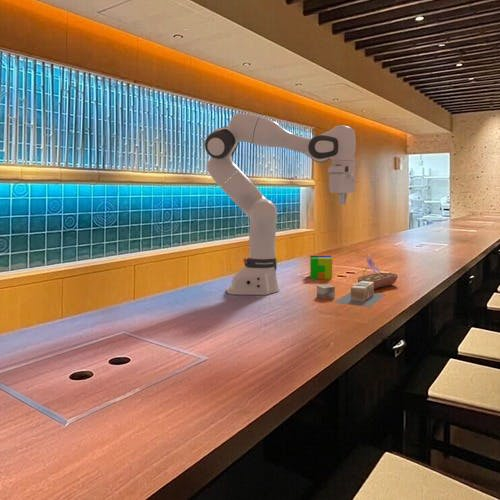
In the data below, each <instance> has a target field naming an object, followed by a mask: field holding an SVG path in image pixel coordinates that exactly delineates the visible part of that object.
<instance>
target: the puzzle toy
mask: <svg viewBox="0 0 500 500" xmlns="http://www.w3.org/2000/svg"><path fill="white" fill-rule="evenodd" d="M309 264H310V268H309V270H310V272H309V273H310V275H309V276H310V280H333V257H332V255H310V263H309Z"/></svg>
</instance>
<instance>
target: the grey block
mask: <svg viewBox="0 0 500 500" xmlns="http://www.w3.org/2000/svg"><path fill="white" fill-rule="evenodd" d="M335 287H336V286H334V285H330V284H321V285H316V297H317V298H318V299H321V300H331V299H335V298H336V297H335V296H336V295H335V294H336V293H335V292H336V291H335V290H336V288H335Z"/></svg>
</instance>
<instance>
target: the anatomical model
mask: <svg viewBox="0 0 500 500" xmlns="http://www.w3.org/2000/svg"><path fill="white" fill-rule="evenodd" d="M397 280H398V274H397V273H394V272H393V273H391V272H381V273H379V272H377V273H376V274H374V273H371V274H367V275H366V274H365V275H362V276H359V277H357V283H359V282H361V281H368V282H374V290H375V289H379V288H382V287H383V288H384V287H389V285H390V286H392V285H393V284H395V283H396V282H397Z"/></svg>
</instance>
